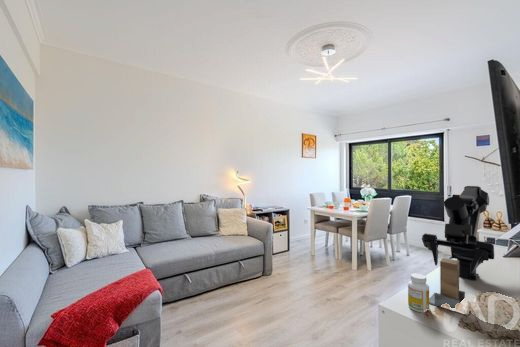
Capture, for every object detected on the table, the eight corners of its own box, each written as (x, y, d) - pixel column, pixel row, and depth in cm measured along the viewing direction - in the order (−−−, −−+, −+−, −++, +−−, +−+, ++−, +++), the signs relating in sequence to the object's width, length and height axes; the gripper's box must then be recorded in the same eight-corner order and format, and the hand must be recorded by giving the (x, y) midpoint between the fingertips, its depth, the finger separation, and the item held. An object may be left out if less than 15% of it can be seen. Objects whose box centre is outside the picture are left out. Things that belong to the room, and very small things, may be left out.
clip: (434, 293, 84) (434, 283, 84) (473, 305, 77) (473, 294, 77) (426, 302, 79) (426, 291, 79) (467, 316, 71) (467, 303, 71)
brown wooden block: (443, 298, 81) (443, 257, 80) (459, 302, 78) (459, 260, 77) (440, 302, 78) (440, 260, 78) (456, 308, 75) (456, 264, 75)
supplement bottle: (421, 302, 79) (421, 271, 79) (433, 312, 74) (433, 279, 73) (404, 303, 79) (404, 272, 79) (415, 313, 73) (415, 280, 73)
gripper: (422, 210, 91) (414, 249, 83) (493, 217, 77) (491, 264, 70) (428, 228, 97) (421, 265, 89) (495, 237, 83) (493, 282, 76)
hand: (453, 268), depth 81 cm, fingers open, 9 cm apart
